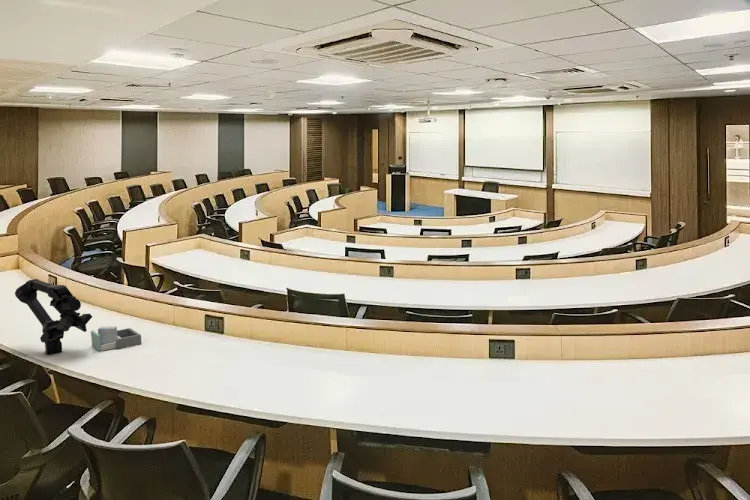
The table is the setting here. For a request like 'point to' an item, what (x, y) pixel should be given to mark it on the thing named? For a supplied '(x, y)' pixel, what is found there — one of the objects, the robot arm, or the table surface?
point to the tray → (97, 343)
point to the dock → (127, 338)
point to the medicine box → (108, 334)
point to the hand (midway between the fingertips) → (85, 331)
